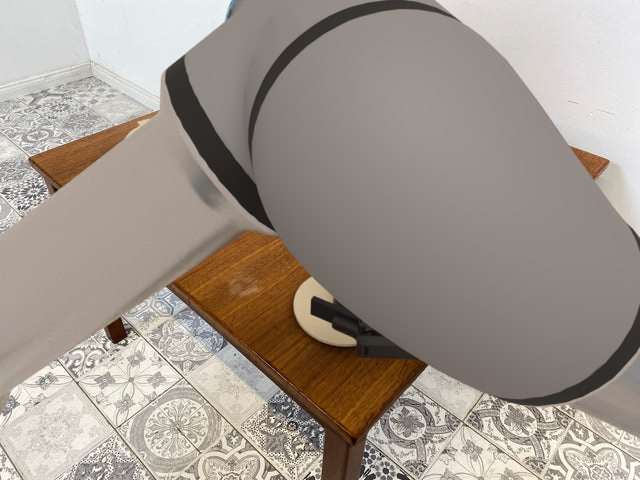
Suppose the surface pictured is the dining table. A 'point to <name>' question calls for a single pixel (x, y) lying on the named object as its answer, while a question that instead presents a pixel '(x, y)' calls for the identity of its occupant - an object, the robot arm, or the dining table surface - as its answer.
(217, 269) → the dining table surface
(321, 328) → the lid
